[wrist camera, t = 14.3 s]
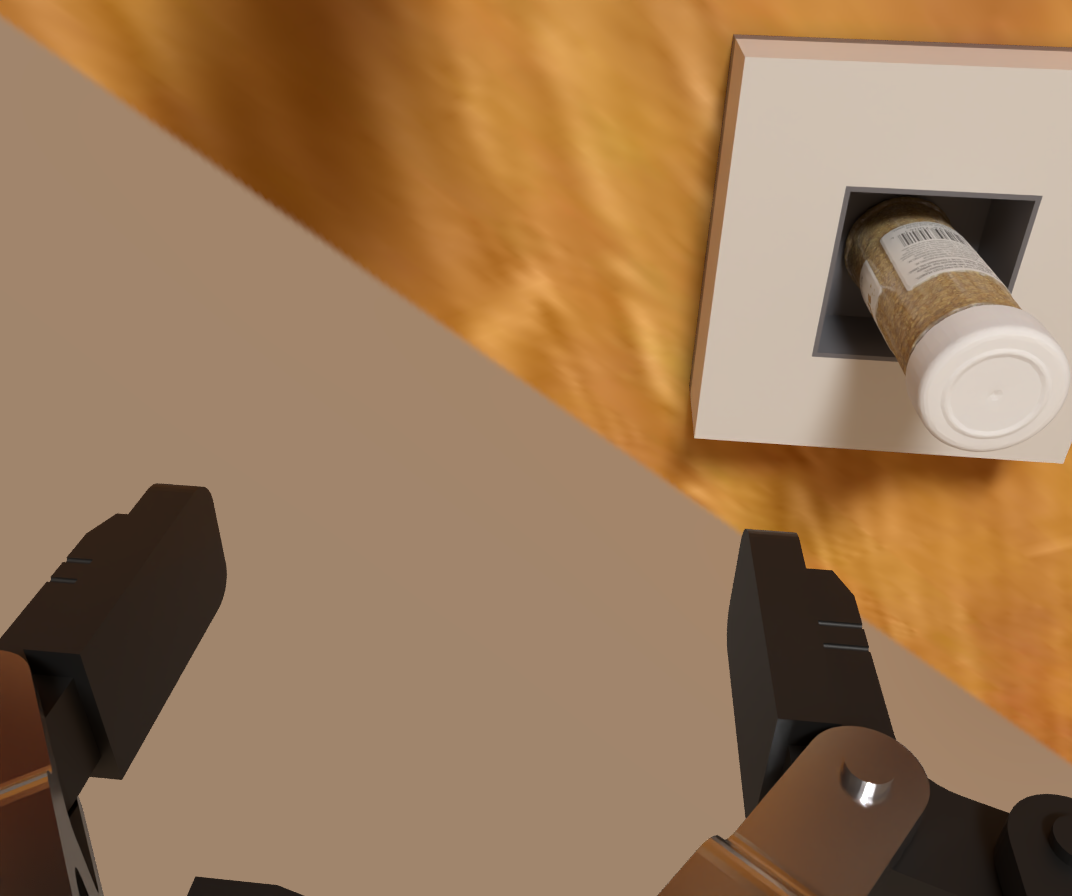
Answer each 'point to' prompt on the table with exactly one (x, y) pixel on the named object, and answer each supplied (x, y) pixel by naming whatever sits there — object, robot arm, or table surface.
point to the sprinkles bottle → (955, 329)
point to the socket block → (843, 197)
